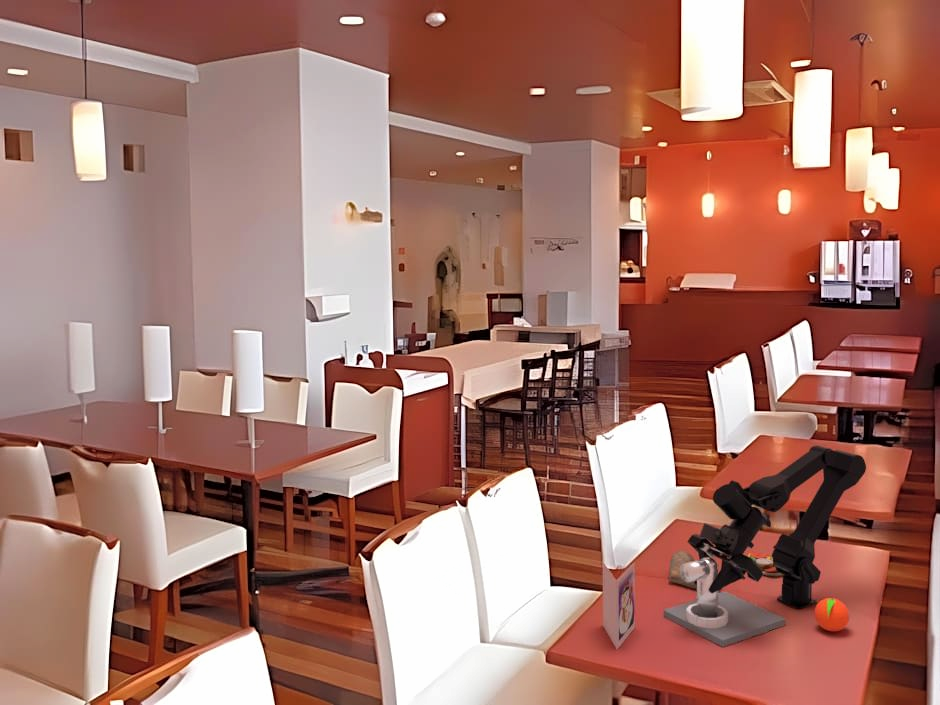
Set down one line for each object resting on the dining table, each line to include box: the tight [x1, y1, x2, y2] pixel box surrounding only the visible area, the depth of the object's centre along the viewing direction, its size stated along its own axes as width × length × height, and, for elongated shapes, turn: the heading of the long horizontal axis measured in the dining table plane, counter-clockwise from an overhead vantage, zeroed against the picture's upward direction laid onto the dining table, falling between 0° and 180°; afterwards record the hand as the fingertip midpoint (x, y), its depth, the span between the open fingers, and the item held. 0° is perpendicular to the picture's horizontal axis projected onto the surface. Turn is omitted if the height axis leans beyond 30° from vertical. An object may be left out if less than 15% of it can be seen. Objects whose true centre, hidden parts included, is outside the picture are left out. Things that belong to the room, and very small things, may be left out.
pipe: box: [668, 550, 723, 593], centre depth 215 cm, size 6×17×10 cm
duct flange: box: [663, 591, 786, 648], centre depth 193 cm, size 19×18×4 cm
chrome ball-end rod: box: [680, 557, 719, 618], centre depth 189 cm, size 8×4×13 cm, turn 115°
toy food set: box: [747, 551, 784, 577], centre depth 223 cm, size 13×13×3 cm
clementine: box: [814, 597, 850, 632], centre depth 187 cm, size 8×7×7 cm
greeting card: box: [602, 561, 636, 650], centre depth 187 cm, size 11×7×15 cm, turn 151°
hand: (702, 588), depth 189 cm, fingers closed on chrome ball-end rod, 4 cm apart
